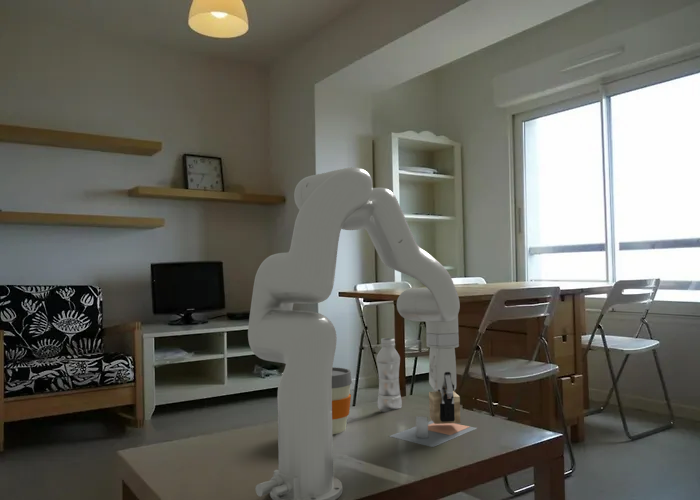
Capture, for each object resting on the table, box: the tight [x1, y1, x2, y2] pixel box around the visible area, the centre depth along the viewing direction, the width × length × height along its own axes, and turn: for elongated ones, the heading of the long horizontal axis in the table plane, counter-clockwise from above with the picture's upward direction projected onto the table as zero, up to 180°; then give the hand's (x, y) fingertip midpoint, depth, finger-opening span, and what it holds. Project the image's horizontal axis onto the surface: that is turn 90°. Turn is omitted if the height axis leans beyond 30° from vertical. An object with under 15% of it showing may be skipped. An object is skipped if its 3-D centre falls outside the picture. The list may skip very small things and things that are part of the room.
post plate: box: [388, 415, 478, 448], centre depth 125 cm, size 18×12×6 cm, turn 136°
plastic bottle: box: [376, 337, 403, 413], centre depth 149 cm, size 6×7×20 cm
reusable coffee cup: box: [332, 366, 353, 435], centre depth 129 cm, size 12×13×15 cm
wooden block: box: [428, 390, 462, 424], centre depth 128 cm, size 6×6×6 cm
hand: (444, 416), depth 128 cm, fingers closed on wooden block, 6 cm apart
